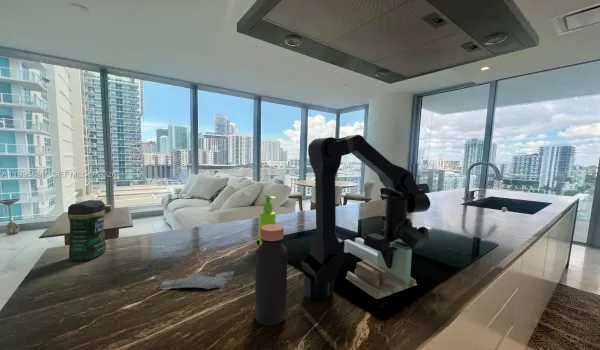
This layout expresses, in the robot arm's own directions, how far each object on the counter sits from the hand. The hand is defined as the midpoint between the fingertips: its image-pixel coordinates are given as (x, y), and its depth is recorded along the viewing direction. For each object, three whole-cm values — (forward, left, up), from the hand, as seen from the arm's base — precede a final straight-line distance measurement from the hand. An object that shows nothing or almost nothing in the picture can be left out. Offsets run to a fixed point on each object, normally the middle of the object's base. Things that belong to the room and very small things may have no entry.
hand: (392, 267), depth 72 cm
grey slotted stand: (+5, +15, -4) cm, 16 cm away
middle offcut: (-7, 0, -3) cm, 8 cm away
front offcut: (-10, 0, -3) cm, 10 cm away
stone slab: (-49, +24, -5) cm, 55 cm away
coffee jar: (-79, +57, -4) cm, 98 cm away
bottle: (-37, +1, -4) cm, 38 cm away
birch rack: (-5, 0, -4) cm, 6 cm away
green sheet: (0, 0, -3) cm, 3 cm away
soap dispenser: (-22, +40, -4) cm, 46 cm away
